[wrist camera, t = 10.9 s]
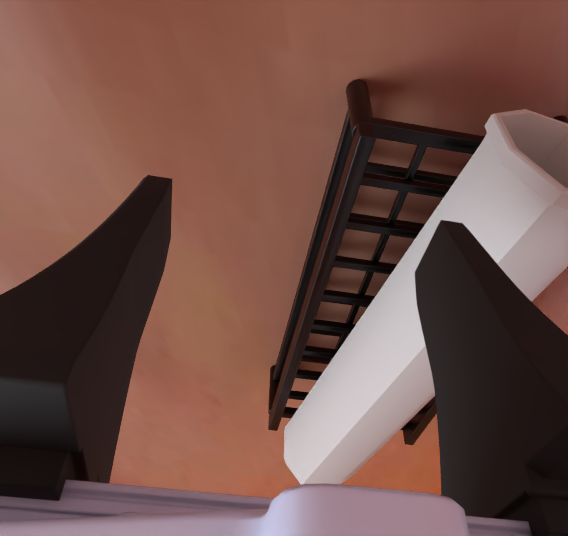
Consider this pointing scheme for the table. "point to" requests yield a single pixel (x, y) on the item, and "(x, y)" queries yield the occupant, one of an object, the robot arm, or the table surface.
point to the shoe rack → (338, 217)
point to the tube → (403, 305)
